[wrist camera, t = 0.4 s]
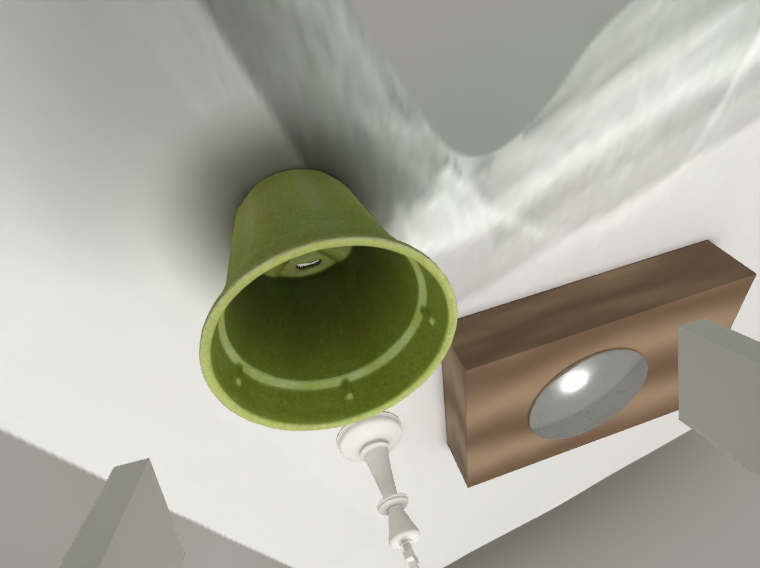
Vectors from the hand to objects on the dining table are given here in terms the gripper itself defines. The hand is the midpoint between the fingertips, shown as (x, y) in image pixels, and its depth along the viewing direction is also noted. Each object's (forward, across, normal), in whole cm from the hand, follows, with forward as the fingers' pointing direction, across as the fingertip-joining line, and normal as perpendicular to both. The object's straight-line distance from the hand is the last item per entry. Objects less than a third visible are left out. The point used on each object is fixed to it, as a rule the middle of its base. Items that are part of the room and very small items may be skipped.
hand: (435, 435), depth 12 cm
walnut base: (+22, +15, -11) cm, 29 cm away
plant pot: (+15, -3, +4) cm, 15 cm away
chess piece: (+22, -1, -14) cm, 26 cm away
